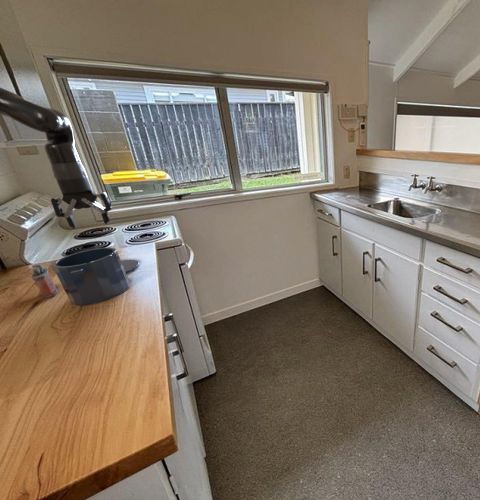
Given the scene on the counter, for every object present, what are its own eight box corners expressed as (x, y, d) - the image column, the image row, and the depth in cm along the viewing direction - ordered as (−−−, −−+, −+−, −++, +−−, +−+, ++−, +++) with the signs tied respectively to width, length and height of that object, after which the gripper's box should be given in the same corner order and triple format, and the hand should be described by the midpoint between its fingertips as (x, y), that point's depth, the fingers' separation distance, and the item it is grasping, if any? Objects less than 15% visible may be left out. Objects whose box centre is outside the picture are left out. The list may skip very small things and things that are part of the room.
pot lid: (80, 285, 94) (73, 270, 92) (93, 268, 107) (87, 254, 105) (136, 273, 101) (130, 259, 99) (142, 258, 114) (137, 245, 112)
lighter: (45, 291, 92) (30, 263, 88) (59, 287, 94) (45, 260, 90) (41, 300, 87) (25, 271, 83) (56, 296, 88) (41, 268, 85)
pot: (60, 316, 78) (38, 276, 73) (82, 285, 94) (66, 251, 90) (124, 300, 84) (108, 262, 79) (134, 274, 101) (121, 241, 96)
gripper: (102, 173, 96) (119, 219, 102) (47, 178, 90) (68, 226, 96) (96, 175, 90) (114, 224, 96) (36, 180, 84) (59, 232, 90)
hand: (91, 225), depth 96 cm, fingers open, 8 cm apart
